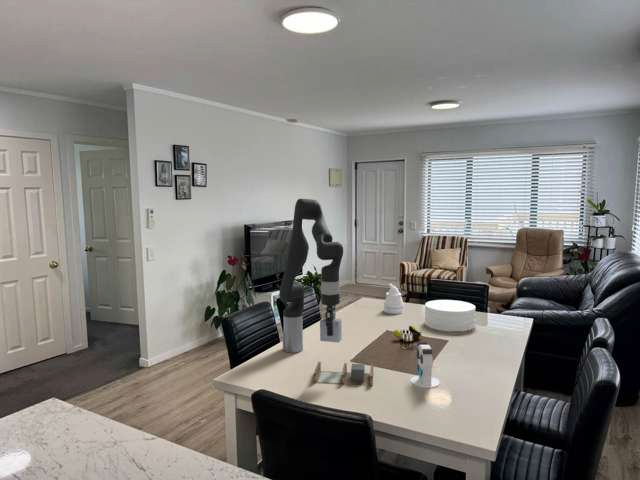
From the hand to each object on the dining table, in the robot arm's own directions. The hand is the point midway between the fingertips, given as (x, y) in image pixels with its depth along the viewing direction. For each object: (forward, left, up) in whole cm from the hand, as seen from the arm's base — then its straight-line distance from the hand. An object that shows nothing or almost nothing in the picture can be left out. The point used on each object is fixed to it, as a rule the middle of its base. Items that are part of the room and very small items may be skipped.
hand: (330, 333), depth 173 cm
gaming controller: (+34, +56, -20) cm, 68 cm away
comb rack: (+5, 0, -19) cm, 20 cm away
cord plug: (+11, +2, -18) cm, 21 cm away
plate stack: (+59, +86, -20) cm, 106 cm away
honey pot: (+27, +113, -20) cm, 118 cm away
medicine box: (0, 0, -3) cm, 3 cm away
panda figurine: (+37, +3, -20) cm, 42 cm away
